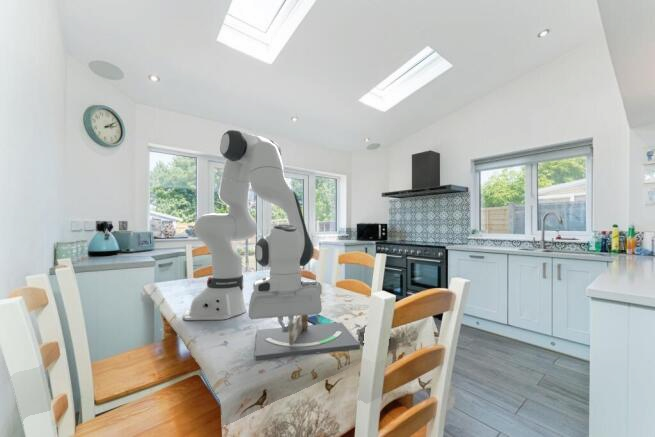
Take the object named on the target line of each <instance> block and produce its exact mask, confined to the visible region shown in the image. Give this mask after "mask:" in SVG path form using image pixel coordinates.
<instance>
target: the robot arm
mask: <svg viewBox="0 0 655 437" xmlns="http://www.w3.org/2000/svg"><path fill="white" fill-rule="evenodd" d="M219 150H220V153H221V155H222V157H223V158H224V159H225V161H224V164H223V169H222V172H221V176H220V177H221V178H220V183H219V184H220V185H219V190H218V198H219V200H220V201H221V202H222V203H223V204H224V205H226V208H227V213H208V214H203V215H200V216H199V217H198V218H196V219H195V220H196V221H195V222H194V225H193V231H194V235H195V236H196V238H197V239H199V241H201V242H202V243H203V244H204V245H205V246H206V248H207V249H208V250H209V253H210V256H211V263H212V264H211V265H212V276H209V277H207V280H206V287H205V288H204V289H203V290H202V291H201V292H200V293H198V294H197V295H196V296H195V297H194V298H193V299H192V302H191V304H190V309H188V310H187V311H185V313H184V314H183V320H185V321H215V320H216V321H217V320H220V321H221V320H222V321H223V320H228V319H230V318H232V317H235V316H236V317H237V316H239V315H241V314H244V313H245V312H246V311H247V308H246V303H245V299H244V281H245V280H244V279H245V278H244V275H243V257H242V255H241V254H240V253H239V252H238V251H236V250H235V249H233V247H232V244H231V242H238V241H246V240H249V239H252V238H254V237H255V235H256V234H257V231H258V225H257V222H256V219H255V218H254V217H253V216H252V214H251V212H250V209H249V208H250V207H249V196H250V189H252V192H253V193H254V194H255V195H256V196H257V197H258V198H260V199H261V200H263V201H265V202H267V203H270V204H271V205H275V206H276V207H278V208H280V209H281V210H282V211H283V212H284V214H286V216H287V217H286V218H287V221H288V224H277V225H273V226H272V227H271V229H270V233H269V234H267V235H266V236H263V237H261V238H260V239H259V240H258V241H257V242H256V244H255V248H254V249H255V250H254V257H255V261H256V262H257V263H258V264H259V265H260V266H261V267H262V268H270V269H269V276H266V277H263V278H260V279H257V280H256V281H255V282H254V283H253V286H252V287H253V291H252V293H251V295H250V299H249V304H248V305H249V306H248V317H249V319H250V320H258V319H259V320H260V319H273V318H277V322H278V324H279V325H280V327H281V328H282V333H285V332H289V326H290V325H291V324H292V322H293V321H294V320H295V319H294V317H296V316H300V315H313V314H318V315H320V314H321V312H322V309H323V308H322V298H321V295H322V293H323V287H322V286H323V285H322V284H321V283H320V282H318V281H316V280H312V281H311V280H309V281H307V280H303V281H302V268H301V267H305V266H306V265H307V264H309V262H310V261H311V260H312V259H313V256H314V254H315V253H314V252H315V251H314V250H315V249H314V245H313V242H312V240H311V237H310V235H309V233H308V230H307V226H306V224H305V218H304V216H303V211H302V209H301V204H300V203H299V199H298V196H297V193H296V192H295V190H293V189H292V188H291V187H290V185H289V184H288V182H287V180H286V177H285V173H284V166H283V161H282V151H281V147H280V145H279V144H278V143H276V142H275V141H274V140H271V139H267V138H264V137H262V136H259V135H256V134H251V133H247V132H241V131H240V130H235V129H234V130H233V129H228V130H227V131H226V132H225V133H224V134H222V137H221V138H220V144H219ZM286 317H287V318H288V321H287V323H286V324H285V323H284V322H283V321H284V318H286Z"/></svg>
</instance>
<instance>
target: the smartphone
mask: <svg viewBox="0 0 655 437" xmlns="http://www.w3.org/2000/svg"><path fill="white" fill-rule="evenodd" d="M309 323H310V325H318V324H329V323H338V322H336V321H334V320H332V319H329V318H327V317H325V316H323V315H321V314H313V315H308V324H309Z"/></svg>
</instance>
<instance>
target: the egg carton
mask: <svg viewBox="0 0 655 437" xmlns="http://www.w3.org/2000/svg"><path fill="white" fill-rule="evenodd" d="M366 326H367V324H365V325H364V326H362V327H361V328H358V329H356V334H355V335H357V342H359V341H360V342H359V344H360V345H364V344H363V341H364V333H365V327H366Z"/></svg>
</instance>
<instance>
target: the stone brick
mask: <svg viewBox="0 0 655 437" xmlns="http://www.w3.org/2000/svg"><path fill="white" fill-rule="evenodd" d="M308 325H309V322H308V315H300V316H295V319H294V320H293V322H292V324H291V325H290V326H289V345H292V344H293V343H294V341H295V340H296V338H297V337H298V335H299V333H300V332H301V330H302V329H307V328H308Z"/></svg>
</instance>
